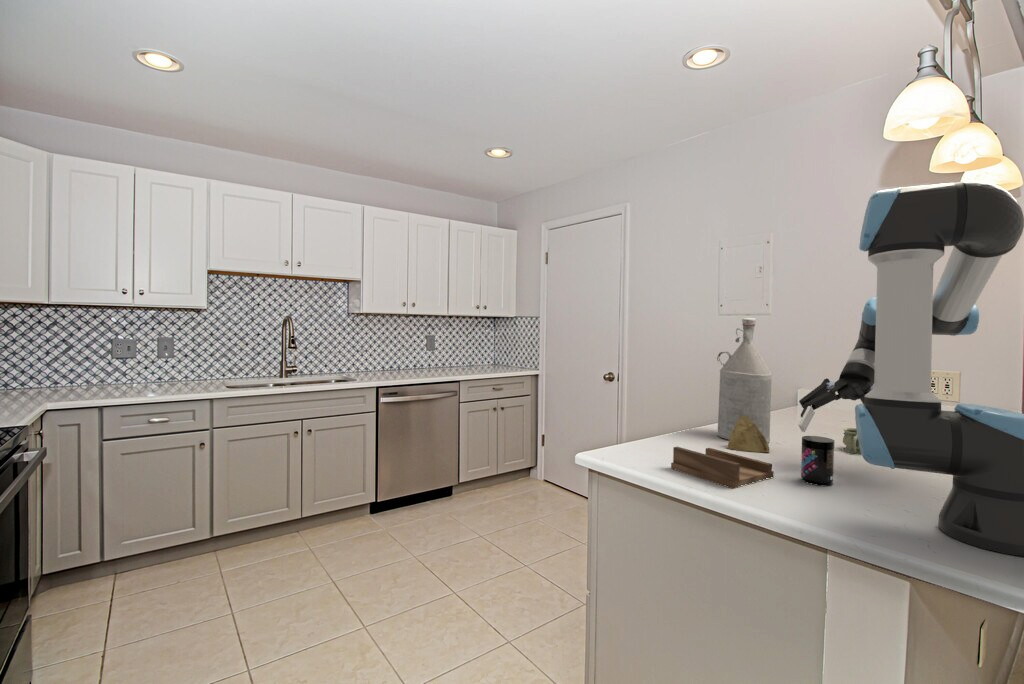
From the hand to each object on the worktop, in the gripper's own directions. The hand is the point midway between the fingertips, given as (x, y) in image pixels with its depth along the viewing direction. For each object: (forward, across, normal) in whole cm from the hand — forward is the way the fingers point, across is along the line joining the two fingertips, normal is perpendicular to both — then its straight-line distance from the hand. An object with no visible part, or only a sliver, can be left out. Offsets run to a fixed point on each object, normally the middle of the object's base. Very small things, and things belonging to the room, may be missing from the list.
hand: (829, 433), depth 123 cm
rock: (+4, +25, -12) cm, 28 cm away
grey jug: (-5, +35, -20) cm, 41 cm away
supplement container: (+12, -1, -3) cm, 13 cm away
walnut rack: (+22, +16, +7) cm, 28 cm away
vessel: (-16, +8, -32) cm, 36 cm away
